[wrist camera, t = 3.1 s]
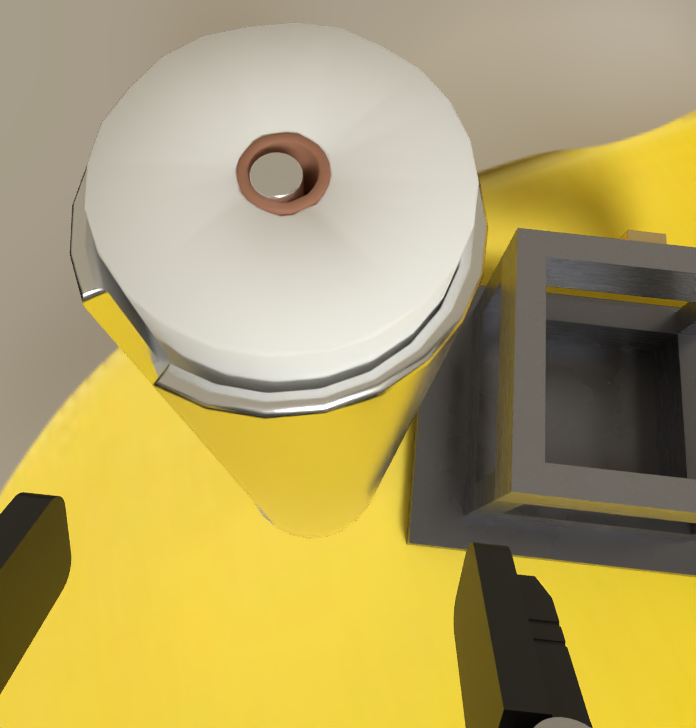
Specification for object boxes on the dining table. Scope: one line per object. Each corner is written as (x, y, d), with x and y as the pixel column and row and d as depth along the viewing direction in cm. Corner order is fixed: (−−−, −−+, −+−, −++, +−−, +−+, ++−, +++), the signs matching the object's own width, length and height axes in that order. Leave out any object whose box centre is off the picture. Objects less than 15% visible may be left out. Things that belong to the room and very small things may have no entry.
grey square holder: (709, 319, 36) (836, 231, 27) (731, 581, 31) (892, 579, 22) (425, 287, 36) (458, 189, 27) (406, 544, 32) (438, 528, 23)
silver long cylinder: (238, 424, 33) (21, 30, 10) (360, 398, 34) (437, -30, 10) (261, 551, 31) (57, 448, 8) (390, 521, 32) (571, 341, 8)
